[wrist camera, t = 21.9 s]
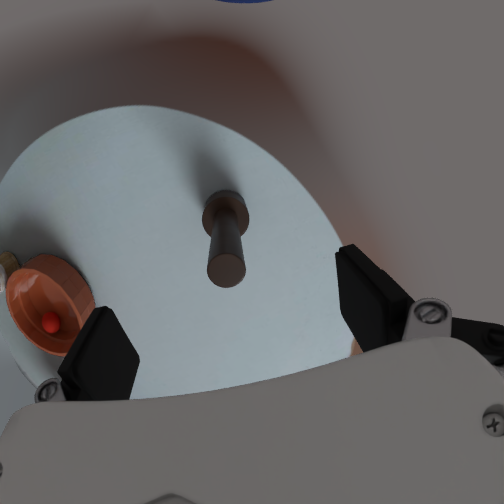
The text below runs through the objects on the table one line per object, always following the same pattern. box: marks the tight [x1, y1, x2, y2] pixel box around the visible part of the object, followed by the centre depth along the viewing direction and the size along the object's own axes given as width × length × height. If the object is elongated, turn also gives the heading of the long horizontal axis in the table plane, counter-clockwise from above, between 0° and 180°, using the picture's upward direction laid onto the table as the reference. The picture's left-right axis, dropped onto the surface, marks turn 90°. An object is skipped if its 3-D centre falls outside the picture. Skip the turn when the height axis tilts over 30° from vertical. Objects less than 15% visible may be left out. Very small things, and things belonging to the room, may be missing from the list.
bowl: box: [6, 254, 96, 356], centre depth 29 cm, size 13×13×5 cm
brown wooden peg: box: [202, 190, 249, 288], centre depth 23 cm, size 4×4×15 cm
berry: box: [42, 312, 61, 333], centre depth 31 cm, size 3×3×3 cm
